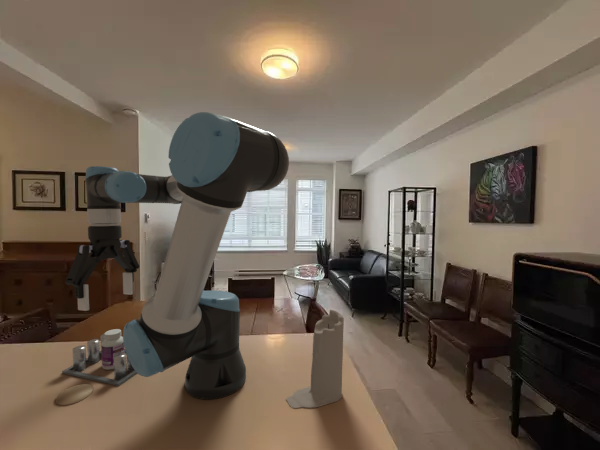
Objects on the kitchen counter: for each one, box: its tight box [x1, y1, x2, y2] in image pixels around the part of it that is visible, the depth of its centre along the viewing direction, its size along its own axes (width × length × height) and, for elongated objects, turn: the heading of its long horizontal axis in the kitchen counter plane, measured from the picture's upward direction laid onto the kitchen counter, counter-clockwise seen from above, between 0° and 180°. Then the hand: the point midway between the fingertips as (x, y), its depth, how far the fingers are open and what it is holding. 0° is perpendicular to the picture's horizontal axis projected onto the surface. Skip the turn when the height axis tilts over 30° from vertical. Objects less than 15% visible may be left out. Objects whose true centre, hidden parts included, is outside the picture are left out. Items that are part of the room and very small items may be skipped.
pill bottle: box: [101, 328, 125, 371], centre depth 79 cm, size 5×5×10 cm
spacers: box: [72, 333, 134, 381], centre depth 79 cm, size 17×11×6 cm, turn 75°
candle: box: [285, 309, 344, 409], centre depth 67 cm, size 7×14×20 cm, turn 113°
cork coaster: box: [55, 383, 94, 406], centre depth 67 cm, size 7×7×1 cm
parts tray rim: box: [61, 350, 138, 387], centre depth 80 cm, size 19×14×1 cm
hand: (107, 301), depth 78 cm, fingers open, 13 cm apart
